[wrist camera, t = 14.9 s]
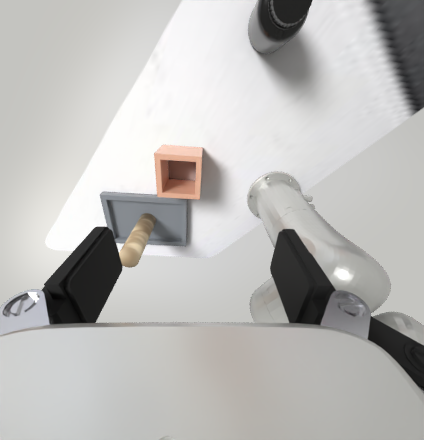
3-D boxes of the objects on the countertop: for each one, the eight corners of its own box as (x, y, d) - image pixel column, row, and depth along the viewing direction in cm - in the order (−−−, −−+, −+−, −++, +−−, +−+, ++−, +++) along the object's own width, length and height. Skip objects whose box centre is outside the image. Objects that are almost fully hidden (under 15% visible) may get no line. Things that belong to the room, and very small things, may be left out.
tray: (187, 196, 48) (186, 199, 47) (186, 242, 56) (186, 246, 54) (103, 191, 47) (99, 194, 46) (113, 238, 54) (111, 242, 53)
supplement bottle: (270, -15, 30) (302, -73, 20) (296, 26, 33) (337, -8, 23) (238, 30, 33) (252, -2, 23) (264, 65, 35) (288, 50, 25)
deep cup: (202, 147, 42) (201, 156, 36) (200, 185, 47) (199, 199, 40) (162, 144, 42) (154, 153, 35) (164, 182, 46) (157, 196, 40)
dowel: (155, 213, 50) (137, 252, 37) (156, 226, 52) (139, 267, 39) (139, 212, 50) (115, 251, 37) (140, 226, 52) (118, 266, 39)
